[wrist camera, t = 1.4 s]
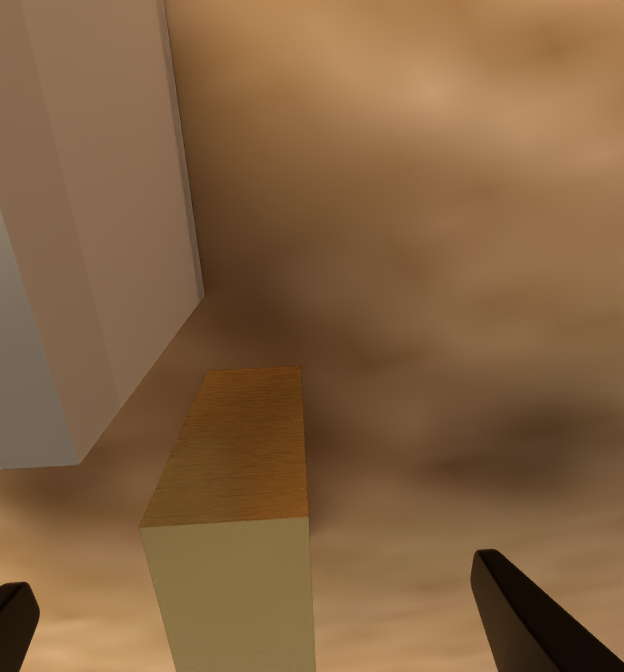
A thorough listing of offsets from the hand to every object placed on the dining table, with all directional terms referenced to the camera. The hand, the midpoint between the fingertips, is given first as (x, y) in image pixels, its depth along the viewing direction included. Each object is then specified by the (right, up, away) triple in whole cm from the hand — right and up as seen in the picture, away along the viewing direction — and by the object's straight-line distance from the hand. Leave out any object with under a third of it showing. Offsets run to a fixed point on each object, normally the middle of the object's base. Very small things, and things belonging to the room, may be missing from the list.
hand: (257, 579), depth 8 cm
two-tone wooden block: (0, +1, +3) cm, 4 cm away
